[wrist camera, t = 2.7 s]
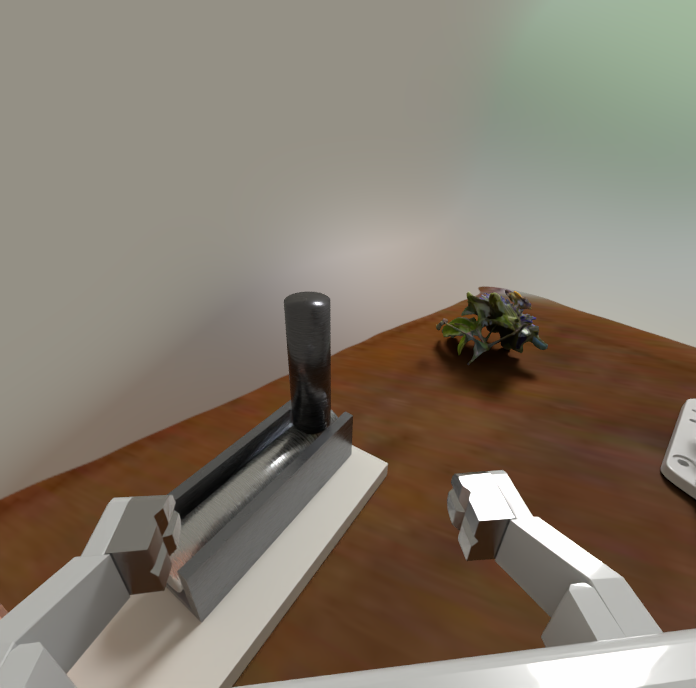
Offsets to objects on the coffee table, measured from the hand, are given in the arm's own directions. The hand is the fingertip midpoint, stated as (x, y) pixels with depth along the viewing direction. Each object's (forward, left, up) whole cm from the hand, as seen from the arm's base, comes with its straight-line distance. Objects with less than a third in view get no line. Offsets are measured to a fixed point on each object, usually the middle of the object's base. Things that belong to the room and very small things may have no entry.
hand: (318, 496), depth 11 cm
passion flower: (-42, -4, -18) cm, 46 cm away
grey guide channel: (-7, -11, -16) cm, 21 cm away
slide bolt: (-7, -11, -15) cm, 20 cm away
